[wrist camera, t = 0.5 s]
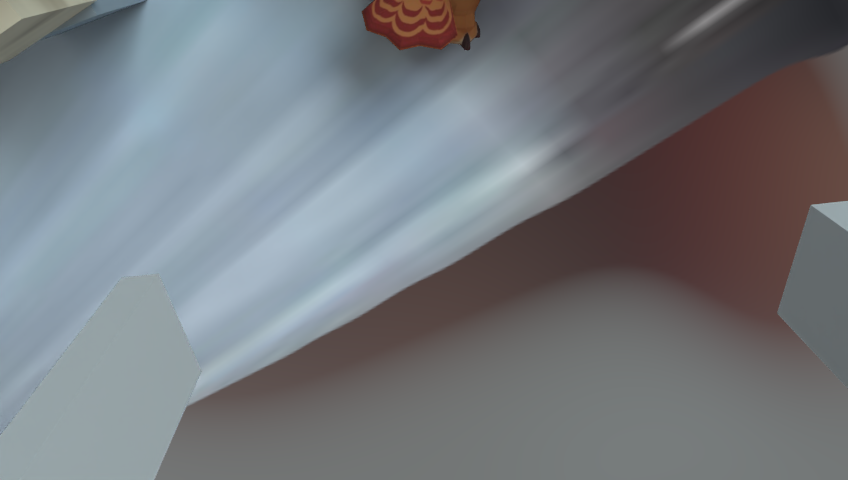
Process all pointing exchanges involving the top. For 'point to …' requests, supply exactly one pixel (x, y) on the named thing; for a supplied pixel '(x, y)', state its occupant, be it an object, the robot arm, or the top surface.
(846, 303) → the robot arm
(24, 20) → the beige cube
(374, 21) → the figurine
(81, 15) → the cube bottom
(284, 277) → the top surface
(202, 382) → the top surface
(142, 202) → the top surface
